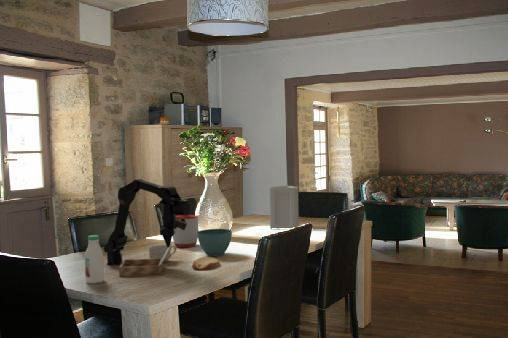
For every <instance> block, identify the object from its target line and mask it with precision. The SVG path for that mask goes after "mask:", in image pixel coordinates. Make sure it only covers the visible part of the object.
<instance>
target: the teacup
mask: <svg viewBox="0 0 508 338" xmlns="http://www.w3.org/2000/svg"><path fill="white" fill-rule="evenodd" d="M172 248H173V249H174V250H173V251H171V250H172ZM167 249H168V247H167V245H166V244H159V245H151V246H149V247H148V255H149V256H148V257H149V259H156V258H163V257H164V255H165V253H166V251H167ZM176 252H177V247H176V246H175V244H174V245H173V244H171V247H170V249H169V251H168V252H167V254H166V256H165V258H164V260H163V263H166V262H168V261H169V260H170V258H171V257H172V256H173V255H174V254H175V253H176Z"/></svg>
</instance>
